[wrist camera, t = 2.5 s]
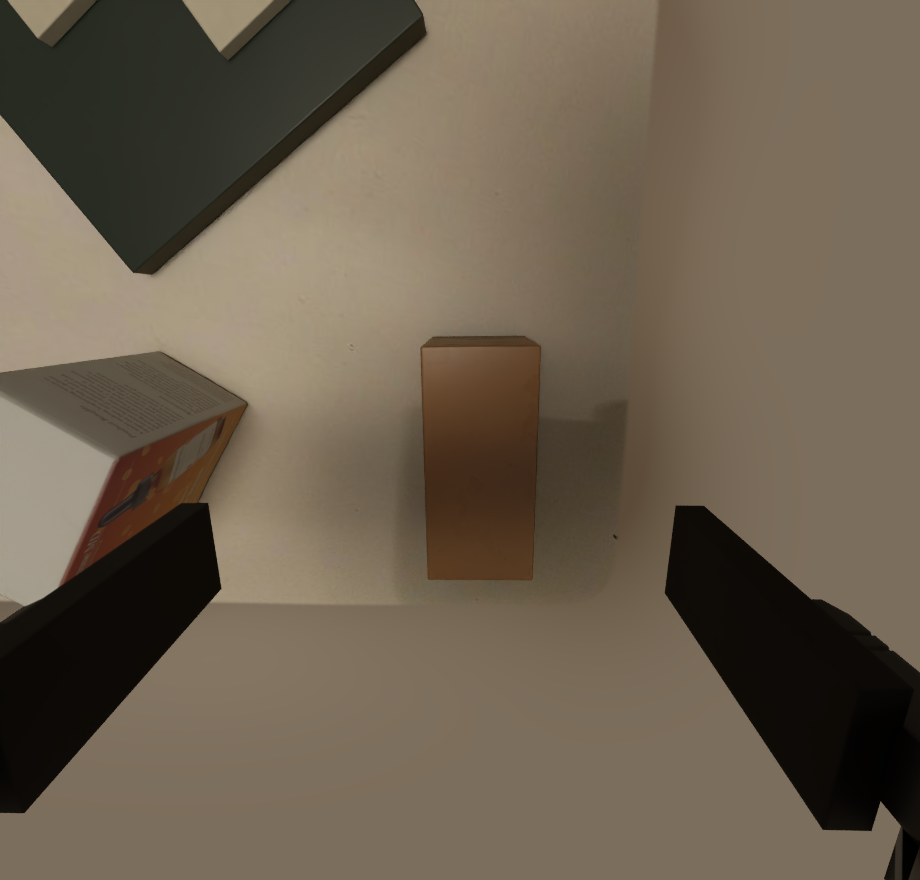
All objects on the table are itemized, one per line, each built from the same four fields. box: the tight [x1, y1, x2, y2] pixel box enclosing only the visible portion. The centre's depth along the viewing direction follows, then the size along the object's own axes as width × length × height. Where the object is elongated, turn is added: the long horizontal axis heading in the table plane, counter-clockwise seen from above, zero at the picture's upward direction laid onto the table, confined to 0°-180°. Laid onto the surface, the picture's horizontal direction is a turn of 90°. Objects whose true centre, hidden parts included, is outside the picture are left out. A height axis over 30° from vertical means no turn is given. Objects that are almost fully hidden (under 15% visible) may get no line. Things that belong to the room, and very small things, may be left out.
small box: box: [0, 352, 246, 606], centre depth 23 cm, size 8×6×10 cm
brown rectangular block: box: [421, 336, 541, 580], centre depth 24 cm, size 11×5×6 cm, turn 1°
